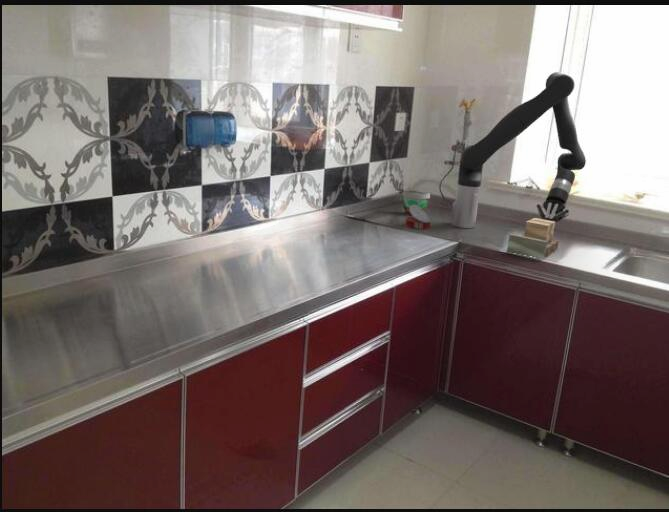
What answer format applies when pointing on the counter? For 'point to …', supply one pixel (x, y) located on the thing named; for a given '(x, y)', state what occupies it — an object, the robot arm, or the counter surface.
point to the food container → (414, 200)
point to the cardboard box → (540, 229)
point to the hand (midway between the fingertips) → (545, 227)
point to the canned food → (418, 218)
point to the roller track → (531, 246)
